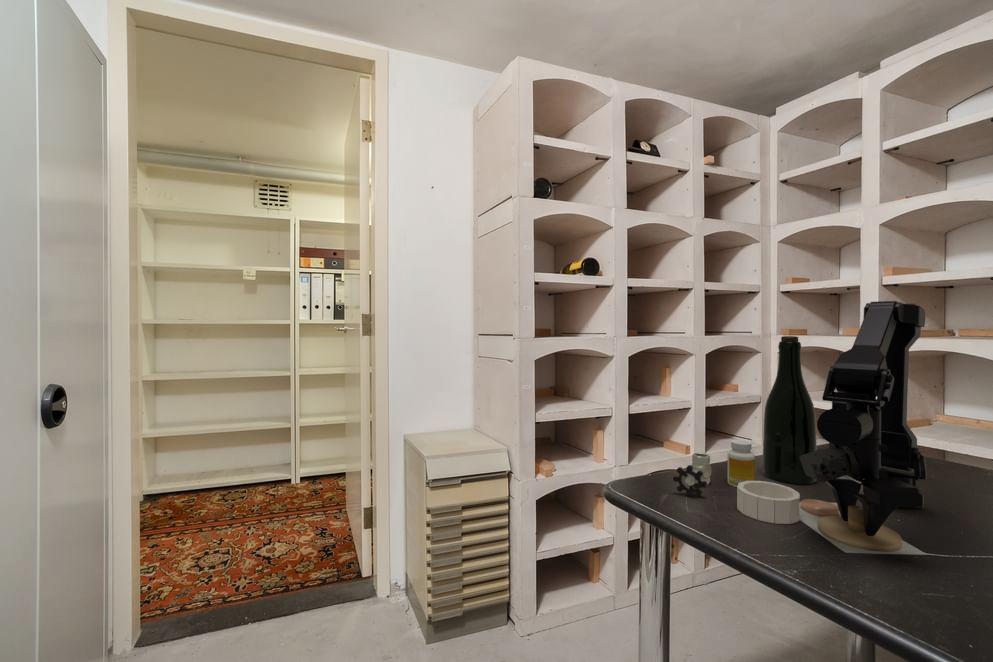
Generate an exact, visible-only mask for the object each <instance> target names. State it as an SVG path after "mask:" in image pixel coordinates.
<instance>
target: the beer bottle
mask: <svg viewBox="0 0 993 662" xmlns="http://www.w3.org/2000/svg"><path fill="white" fill-rule="evenodd" d="M777 348H778V364H777V366H778V367H777V373H776V377H775V380H774V383H773V385H772V387H771V390H770V392H769V394H768V397H767V399H766V401H765V407H764V413H763V414H764V417H763V440H762V441H763V443H762V473H763V475H764V476H765V477H767V478H768V479H771V480H773V481H776V482H779V483H785V484H789V485H799V486H804V485H805V486H809V485H812V484H814V483H816V482H817V481H816V480H815V479H814V478H812V477H810V476H807V475H806V474H805V472H804V469H803V466H802V464H801V461H800V458H799V457H800V456H802V455H804V454H807V453H810V452H813V451H816V450H817V446H818V445H817V420H816V418H817V417H816V412H815V411H816V410H815V407H814V402H813V400H812V397H811V395H810V393H809V391H808V388H807V386H806V384H805V380H804V377H803V371H802V362H801V361H802V357H801V353H802V352H801V351H802V344H801V342H800V341H799V336H796V335H795V336H794V335H785V336H781V338H780V341H779V342H778V347H777Z"/></svg>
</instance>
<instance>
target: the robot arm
mask: <svg viewBox="0 0 993 662" xmlns="http://www.w3.org/2000/svg"><path fill="white" fill-rule="evenodd" d="M925 326H926V310H925V309H924V308H923V307H922V306H920V305H917V304H916V302H915V303H903V302H902V301H897V300H888V301H887V300H885V301H884V300H883V301H880V300H879V301H870V302H867V303H866V304H865V306H864V307H863V319H862V322H861V325H860V328H859V330H858V333H857V335H856V337H855V340H854V343H853V345H852V347H851V348H850V349H848V350H846V351H844V352H841V353H840V354H839V355H838V356H837V358H836V360H835V362H834V363H833V365H831V366H830V367H829V370H828V374H827V378H826V382H825V384H824V385H825V387H824V389H823V394H822V401H824V402H825V401H826V402H831V408H829V409H827V410H824V411H823V412H822V413H820V415H819V416H818V419H817V420H816V429H817V431H818V433H819V434H820V436H821V437H822V438H823V440H825V441H826V442H828V447H826V448H820V449H818V450H816V451H813V452H810V453H807V454H804V455H802V456H800V457H799V458H800V461H801V464H802V466H803V469H804V472H805V474H806V475H807V476H810V477H812V478H814V479H815V480H816V482H818V483H825V484H827V485H828V486H829V488H830V489H831V492H832V494H833V497H834V499H835V503H837V505H838V508H839V511H840V514H841V517H842V519H843V520H844V521H848V506H850V505H854V506H857V501H859V502H860V504H861V505H862V507H863V517H864V527H865V532H866V535H868V536H874V535H875V534H876V533H877V532H878V530H879V529H880V527H881V526H882V525H883V524H884V523H885V522H886V521H887V519H888V518H889V517H890V515H891V514H892V513H893V512H894V511H895V510H897V509H899V510H900V509H901V510H923V509H924V505H925V504H924V497H925V496H924V493H923V492H922V491H921V490H920V489H919V488H918V487H917V481H920V480H922V481H923V480H924V481H925V480H927V475H928V474H927V472H928V471H927V465H926V464H927V463H926V458H925V456H924V455H923V454H922V450H921V448H920V447H918V437H917V436H916V435H915V433H914V432H913V430H912V429H911V428H910V427H909V425H908V423H907V418H908V417H907V416H908V391H909V389H908V387H909V357H910V354H909V353H910V349H911V348H912V346H913V345H914V344H915V343H916V342H917V341H918V340H919V338H920V337H921V331H922V330H921V329H922V328H924V327H925ZM835 390H836V391H835ZM861 488H862V493H860V492H861ZM883 526H884V525H883Z"/></svg>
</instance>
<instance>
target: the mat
mask: <svg viewBox="0 0 993 662" xmlns="http://www.w3.org/2000/svg"><path fill="white" fill-rule="evenodd" d="M800 502H801V501H800ZM800 502H799V521H801V522H802V523H803V524H804V525H806V526H808V527H809V528H811V529H812V530H814V532H816V533H817V534H819V535H820V536H822V537H823V538H824V539H826V540H827V541H828V542H830V543H831V544H833V545H834V546H835V547H837V548H838V549H840V550H841V551H842V552H844V553H846V554H871V555H873V554H874V555H876V554H879V555H912V556H913V555H918V556H919V555H920V556H928V554H927V553H926V552H924V551H922V550H920V549H919V548H917V547H916V546H913V545H911V544H910V543H908V542H907V541H905V540H903V539H902V547H901V548H900V549H898V550H895V551H872V550H866V549H860V548H856V547H852V546H849V545H845V544H843V543H840V542H837V541H835V540H833V539H831V538H829V537H827V536H825V535H824V534H822V533H821V532H820V531H819V529H818V519H819V518H821V517H822V516H817V515H813V514H810V513H807V512H805V511H804V510H802V509H801V507H800ZM830 503H831V504H834V505H836V506H837V507H838V505H837V503H836V502H830ZM839 516H841V514H840V511H839Z"/></svg>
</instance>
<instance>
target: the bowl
mask: <svg viewBox="0 0 993 662" xmlns="http://www.w3.org/2000/svg"><path fill="white" fill-rule="evenodd" d="M736 491H737V492H736V495H737V496H736V509H737V510H738V511H739V512H740V513H741V514H743V515H744V516H747V517H748V518H751V519H754V520H756V521H762V522H765V523H771V524H778V525H779V524H780V525H782V524H783V525H791V524H795V523H797V522H800V520H799V502H801V500H800V499H801V498H800V496H801V495H800V492H798V491H796V490H795V489H793V488H792V487H789V486H787V485H783V484H779V483H778V482H777V483H776V482H770V481H763V480H755V481H744V482H740V483H738V486H737V487H736Z"/></svg>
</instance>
